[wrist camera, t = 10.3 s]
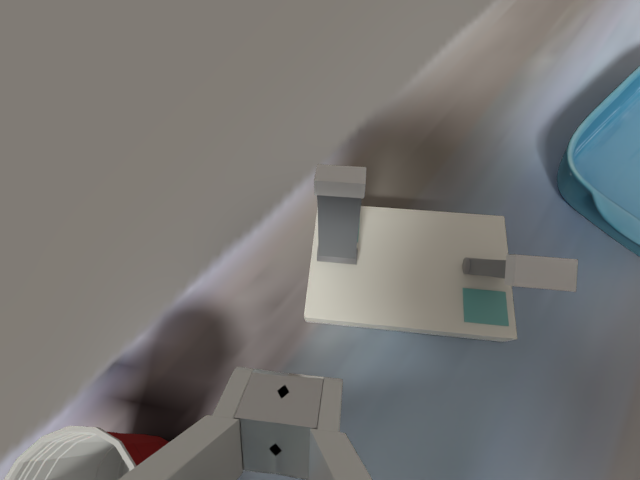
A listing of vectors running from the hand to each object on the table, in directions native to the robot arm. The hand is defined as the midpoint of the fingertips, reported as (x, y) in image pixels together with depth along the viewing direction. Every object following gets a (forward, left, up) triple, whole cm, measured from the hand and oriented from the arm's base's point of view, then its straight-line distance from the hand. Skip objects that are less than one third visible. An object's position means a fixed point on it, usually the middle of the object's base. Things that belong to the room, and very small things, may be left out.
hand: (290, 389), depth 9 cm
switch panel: (+12, -9, -29) cm, 33 cm away
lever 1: (+13, -1, -25) cm, 28 cm away
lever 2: (+12, -17, -25) cm, 33 cm away
